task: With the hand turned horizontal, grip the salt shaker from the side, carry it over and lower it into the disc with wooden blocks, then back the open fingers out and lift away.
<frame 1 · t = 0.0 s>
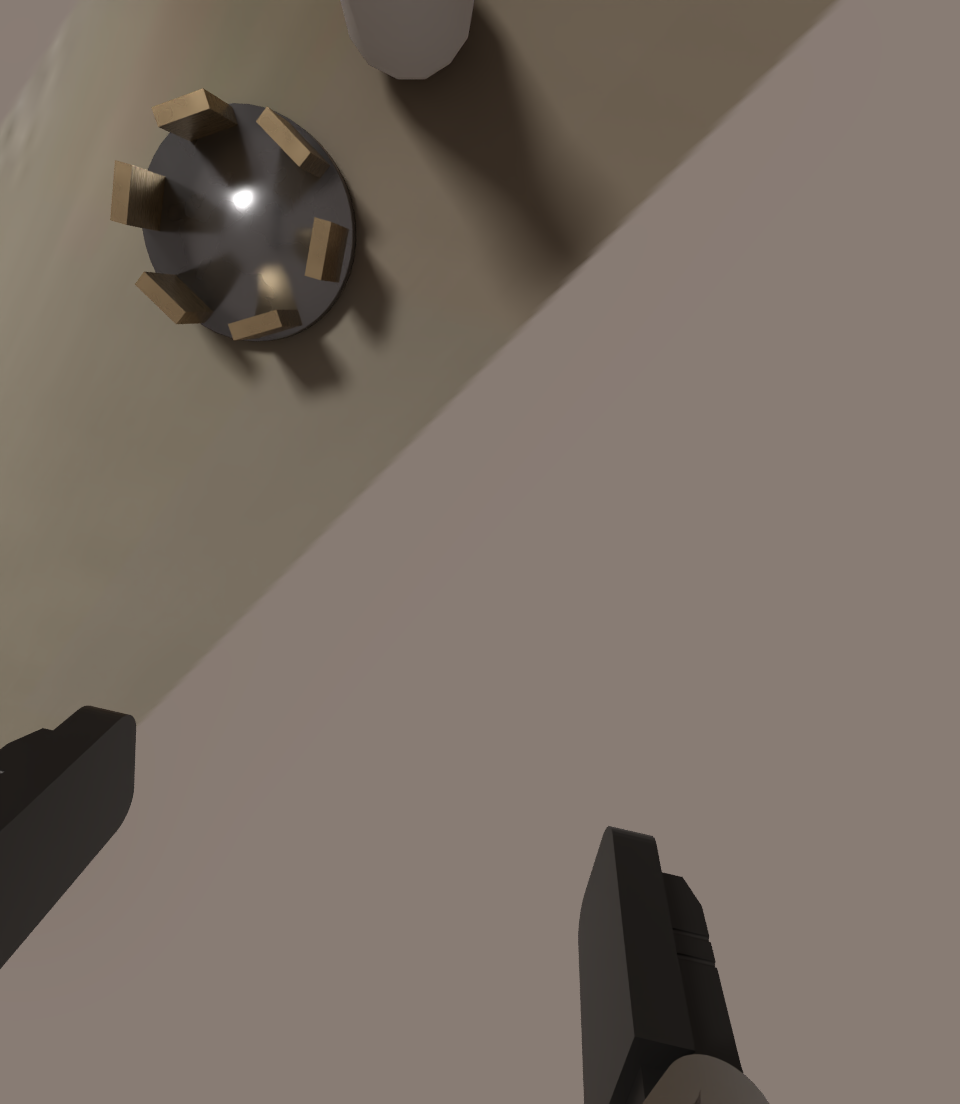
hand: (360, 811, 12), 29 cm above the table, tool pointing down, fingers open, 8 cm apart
disc with wooden blocks: (251, 229, 37), on the table
salt shaker: (418, 24, 33), on the table
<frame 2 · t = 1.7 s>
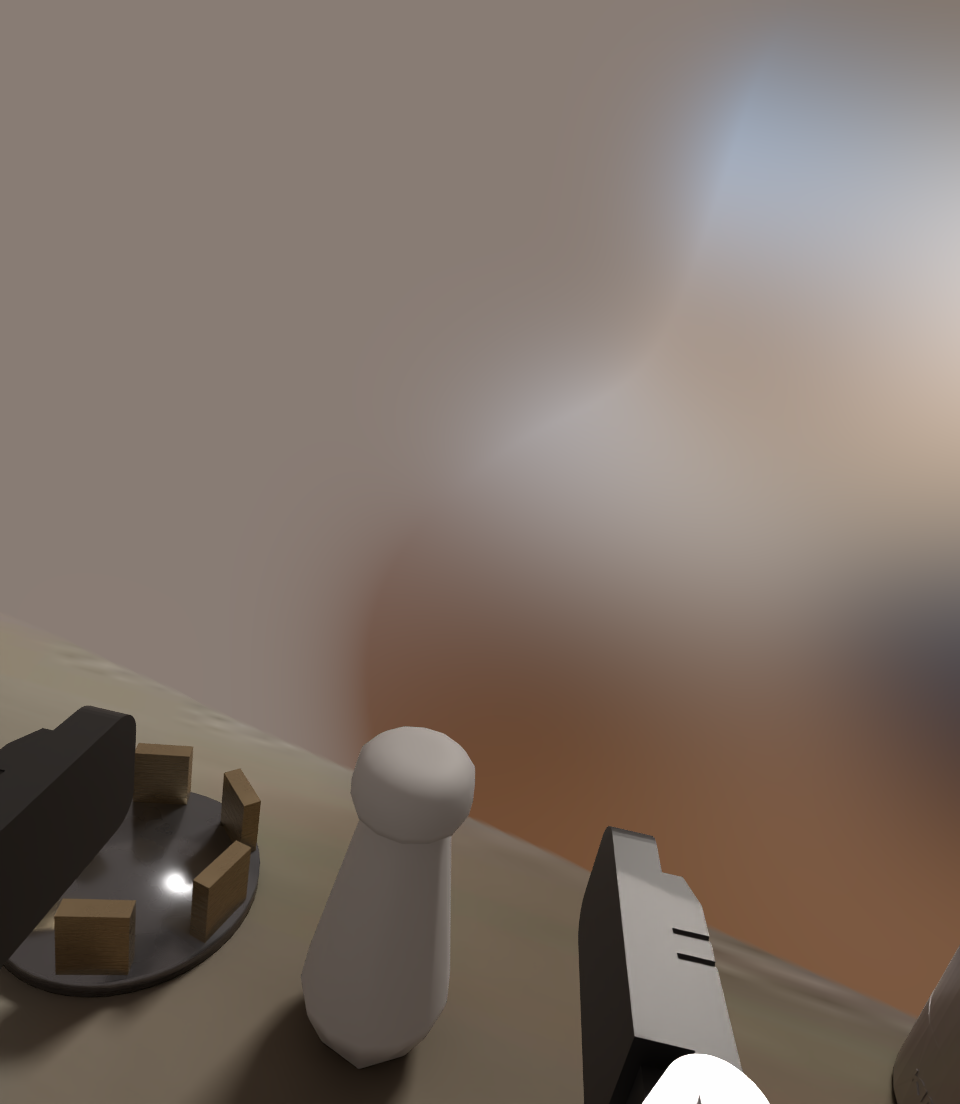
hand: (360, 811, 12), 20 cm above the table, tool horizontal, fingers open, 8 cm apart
disc with wooden blocks: (133, 883, 33), on the table
salt shaker: (368, 1020, 29), on the table
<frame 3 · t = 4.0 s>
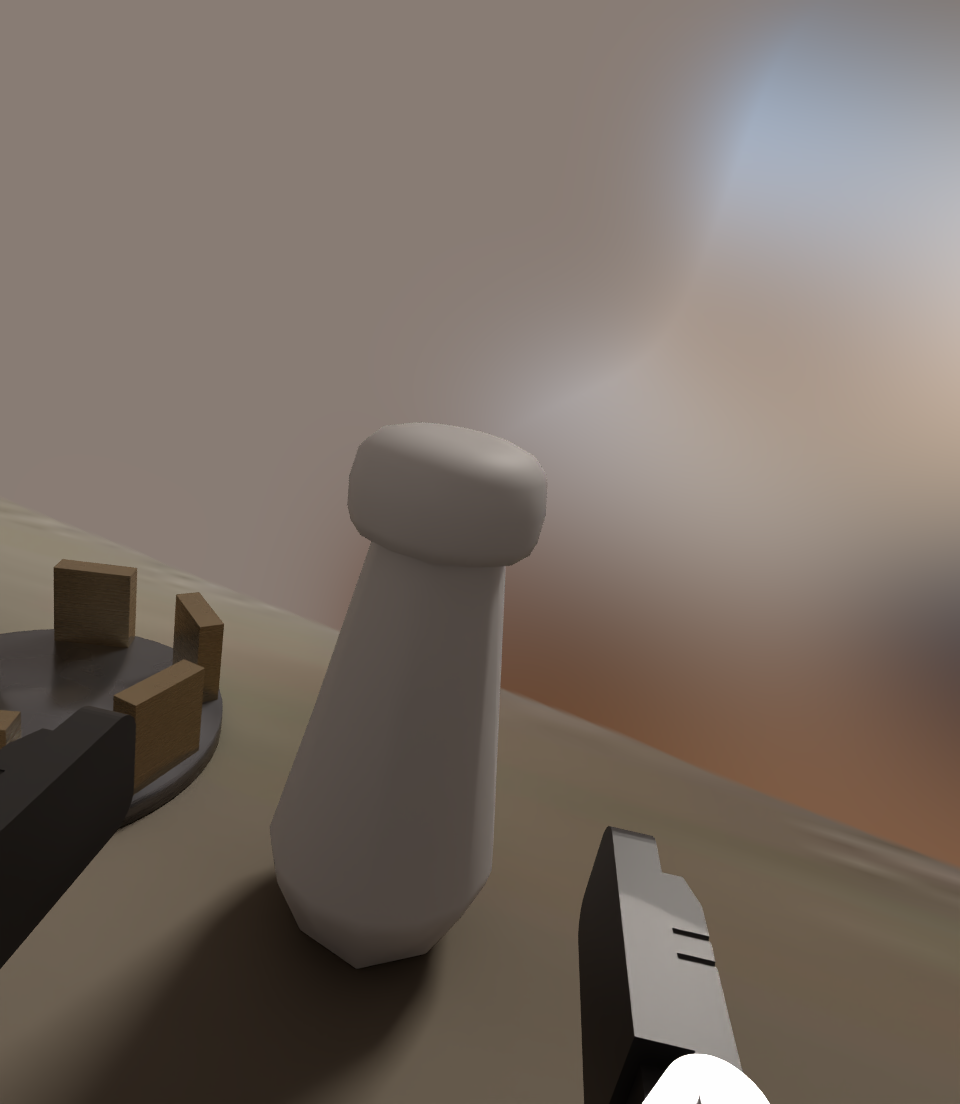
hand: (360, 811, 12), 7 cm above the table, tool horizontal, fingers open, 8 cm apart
disc with wooden blocks: (41, 730, 23), on the table
salt shaker: (371, 907, 19), on the table
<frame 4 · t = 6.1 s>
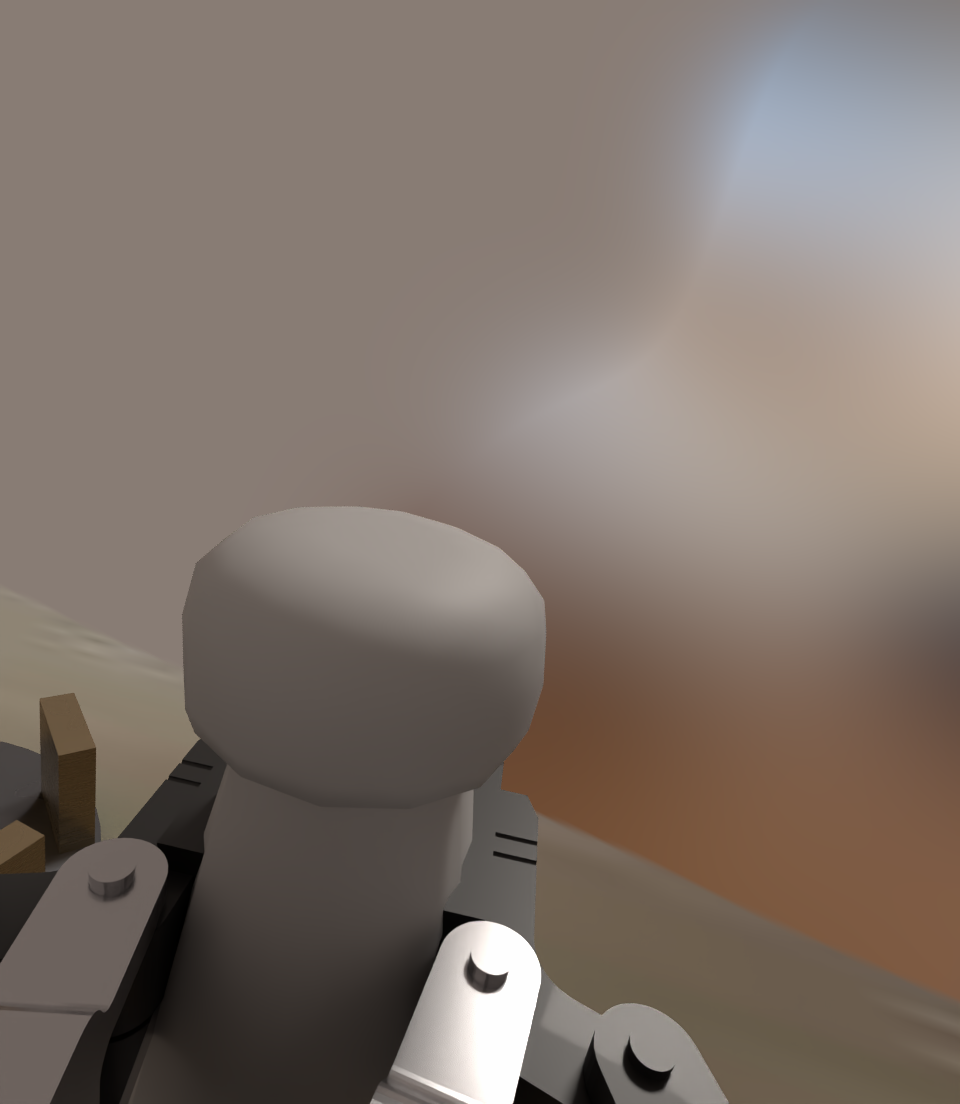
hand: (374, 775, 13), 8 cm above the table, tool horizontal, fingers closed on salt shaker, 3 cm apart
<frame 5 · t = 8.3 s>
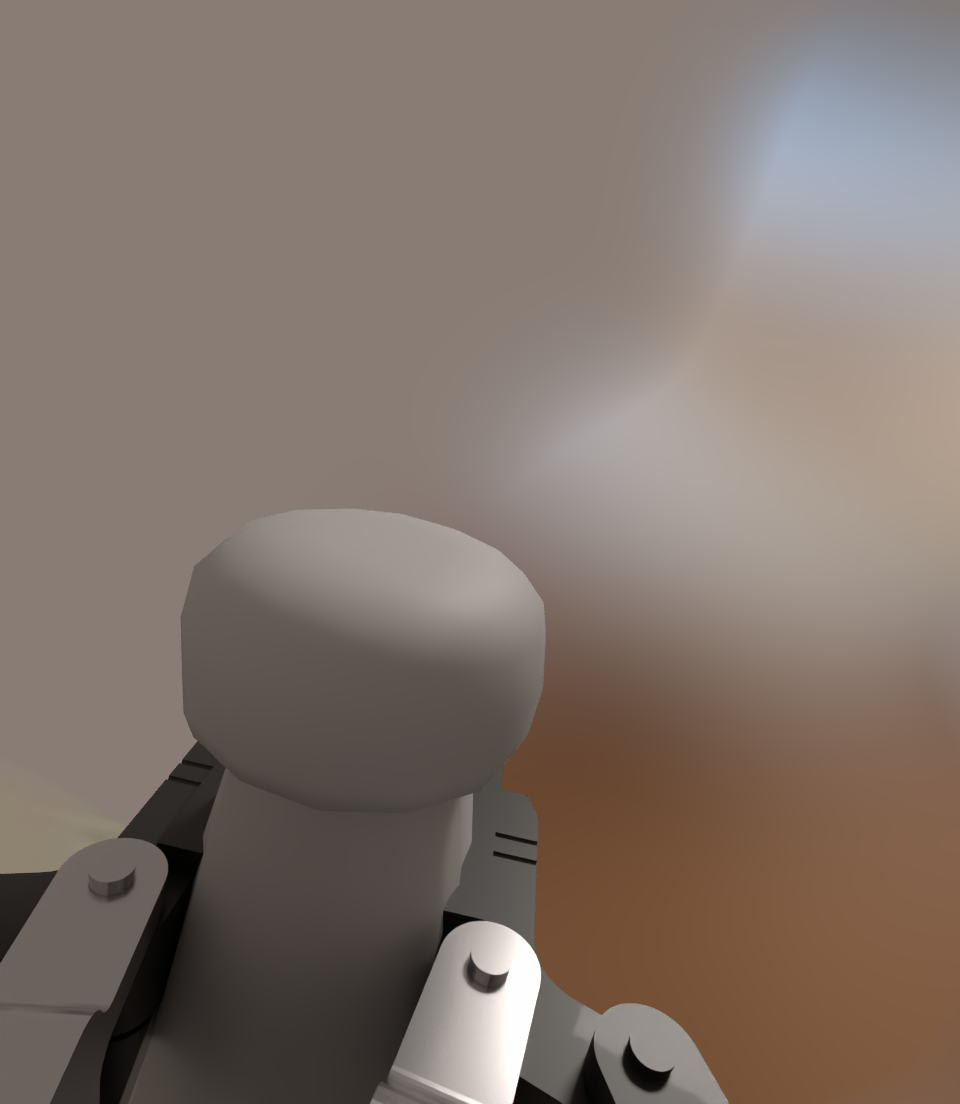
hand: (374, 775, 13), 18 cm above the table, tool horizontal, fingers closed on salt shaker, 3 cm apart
when the fingers open (10 cm above the table, at t = 10.4 s): salt shaker drops 1 cm, resting on disc with wooden blocks.
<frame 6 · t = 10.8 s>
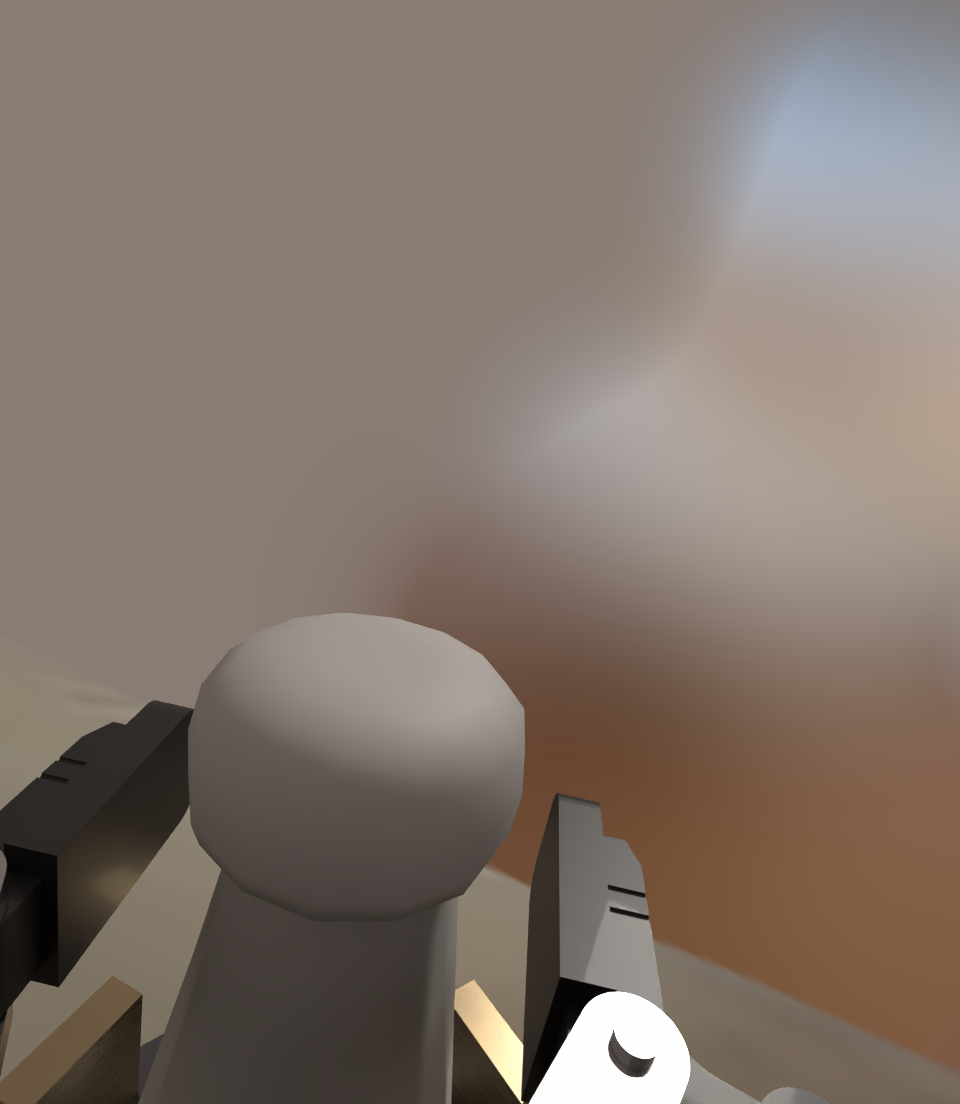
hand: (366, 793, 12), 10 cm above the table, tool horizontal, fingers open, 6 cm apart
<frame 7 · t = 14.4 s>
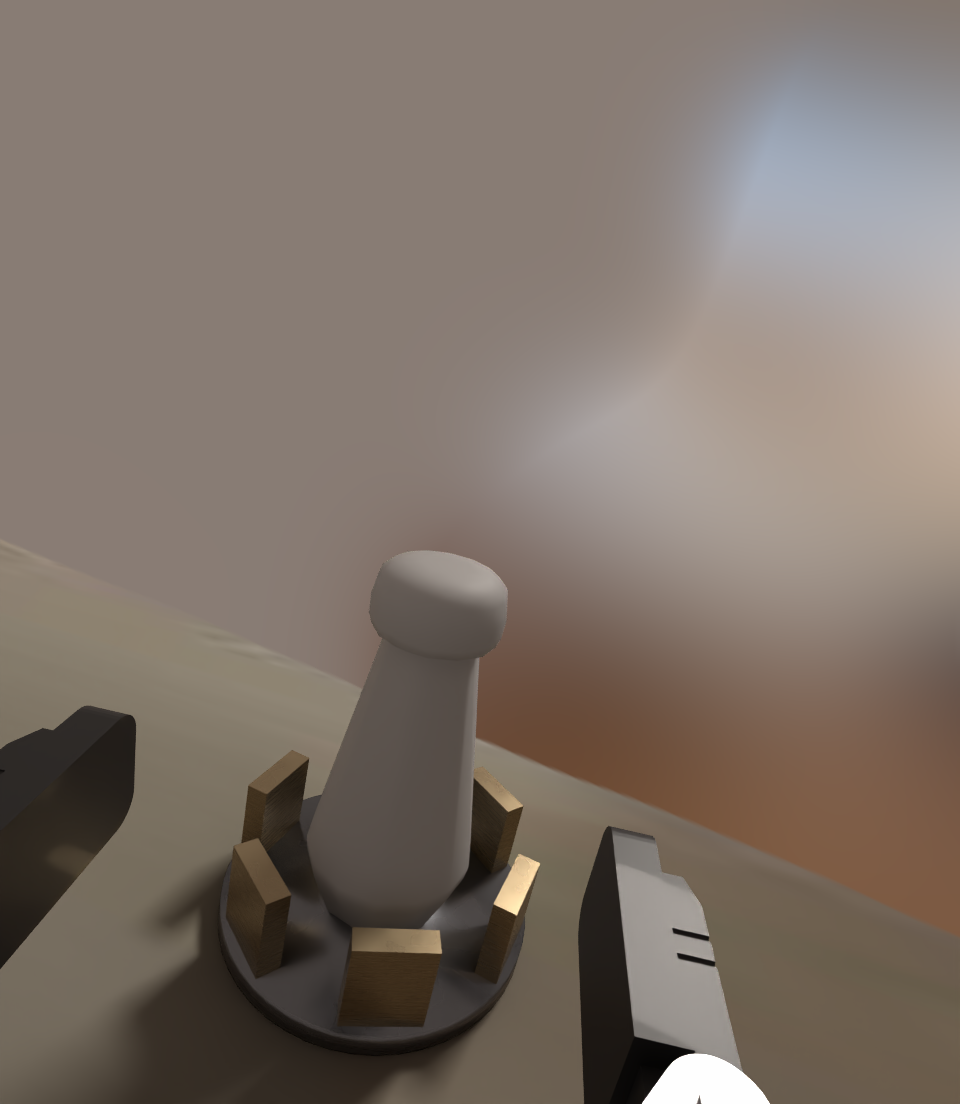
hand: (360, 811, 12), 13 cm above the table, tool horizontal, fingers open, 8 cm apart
disc with wooden blocks: (375, 906, 26), on the table
salt shaker: (378, 895, 26), point 1 cm above the table, touching disc with wooden blocks
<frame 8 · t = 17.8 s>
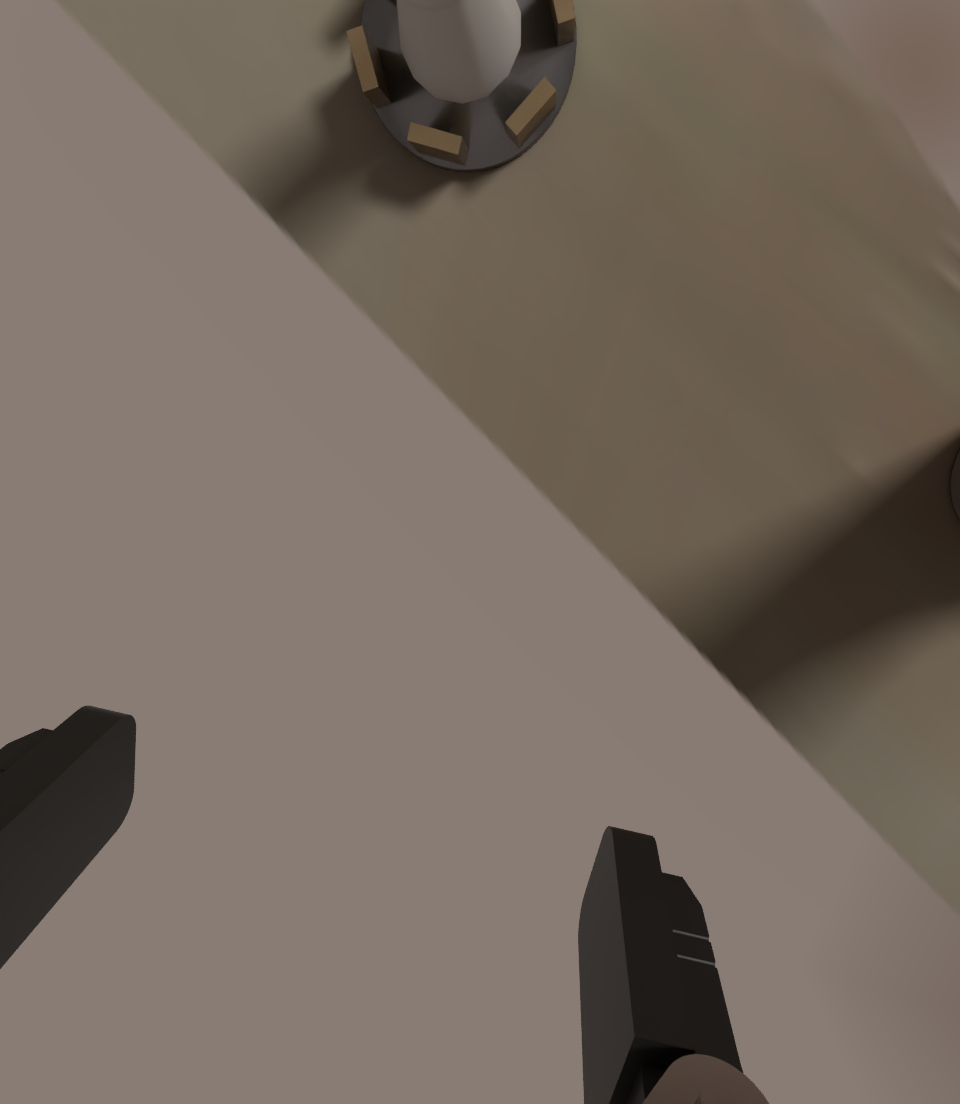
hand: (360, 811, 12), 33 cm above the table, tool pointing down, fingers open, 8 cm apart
disc with wooden blocks: (468, 52, 37), on the table
salt shaker: (467, 50, 36), point 1 cm above the table, touching disc with wooden blocks
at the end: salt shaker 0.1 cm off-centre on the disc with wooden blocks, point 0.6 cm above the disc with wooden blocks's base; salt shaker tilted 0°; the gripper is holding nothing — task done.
